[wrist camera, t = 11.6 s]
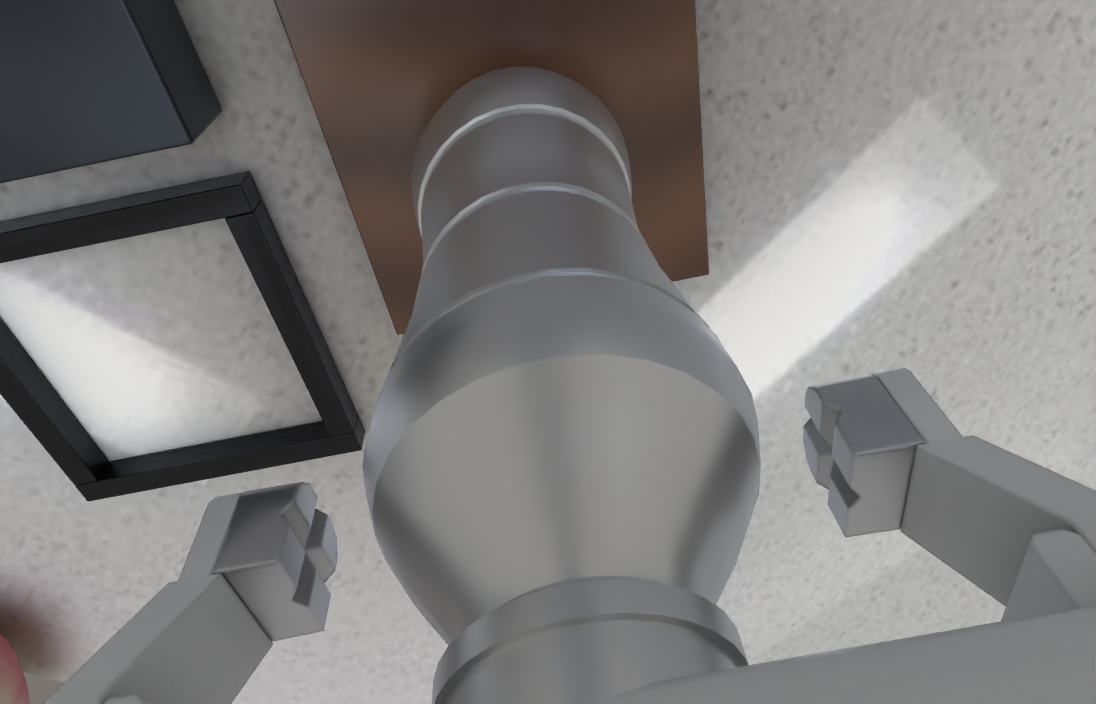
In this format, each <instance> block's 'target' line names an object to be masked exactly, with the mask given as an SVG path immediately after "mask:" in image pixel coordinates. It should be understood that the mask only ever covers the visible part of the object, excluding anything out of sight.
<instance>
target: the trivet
mask: <svg viewBox="0 0 1096 704" xmlns="http://www.w3.org/2000/svg"><path fill="white" fill-rule="evenodd" d="M274 1H275V4H276V7H277V10H278V12H279V15H280V18H281V20H282V23H283V26H284V29H285V31H286V34H287V37H288V39H289V42H290V45H291V48H292V50H293V53H294V56H295V58H296V61H297V64H298V67H299V69H300V72H301V75H302V77H303V80H304V83H305V86H306V88H307V91H308V94H309V96H310V99H311V102H312V105H313V107H314V110H315V113H316V115H317V118H318V121H319V124H320V126H321V129H322V132H323V134H324V137H325V140H326V143H327V145H328V148H329V151H330V153H331V156H332V159H333V162H334V164H335V167H336V170H337V172H338V175H339V178H340V181H341V183H342V186H343V189H344V191H345V194H346V197H347V200H348V202H349V205H350V208H351V210H352V213H353V216H354V219H355V221H356V224H357V227H358V229H359V232H360V235H361V238H362V240H363V243H364V246H365V248H366V251H367V254H368V257H369V259H370V262H371V265H372V267H373V270H374V273H375V276H376V278H377V281H378V284H379V286H380V289H381V292H382V295H383V297H384V300H385V303H386V305H387V308H388V311H389V314H390V316H391V319H392V322H393V324H394V327H395V330H396V333H397V334H398V335H399V334H404V333H405V331H406V329H407V326H408V324H409V321H410V319H411V317H412V314H413V309H414V304H415V300H416V295H417V291H418V286H419V281H420V278H421V274H422V268H423V245H422V238H421V235H420V232H419V228H418V224H417V220H416V217H415V211H414V204H413V197H412V179H411V175H412V169H413V162H414V155H415V153H416V150H417V147H418V144H419V142H420V139H421V136H422V134H423V132H424V131H425V129H426V127H427V126H428V124H429V122H430V121H431V119H432V118H433V116H434V115H435V113H436V112H437V111H438V110H439V109H440V108H441V106H442V105H443V104H444V103H445V102H446V101H447V100H448V99H449V98H450V97H451V96H452V95H453V94H454V93H455V91H457V90H458V89H460V88H461V87H462V86H464V85H465V84H467V83H468V82H470V81H471V80H472V79H474V78H477V77H479V76H481V75H484V74H486V73H488V72H490V71H494V70H498V69H503V68H508V67H537V68H542V69H546V70H551V71H554V72H556V73H558V74H561V75H563V76H565V77H567V78H569V79H571V80H573V81H575V82H577V83H578V84H580V85H581V86H583V87H584V88H585V89H587V90H588V91H589V92H591V93H592V94H593V95H595V96H596V97H597V98H598V99H599V100H600V101H601V102H602V103H603V104H604V106H605V107H606V108H607V109H608V110H609V111H610V112H611V114H612V115H613V117H614V119H615V121H616V123H617V124H618V126H619V128H620V130H621V132H622V134H623V138H624V141H625V144H626V148H627V151H628V156H629V163H630V170H631V183H632V205H633V209H634V214H635V218H636V222H637V226H638V229H639V231H640V233H641V235H642V236H643V238H644V240H645V242H646V244H647V245H648V247H649V249H650V251H651V252H652V254H653V256H654V258H655V259H656V261H657V263H658V265H659V267H660V268H661V269H662V270H663V272H664V273H665V274H666V275H667V276H668V278H669V279H670V280H671V281H678V280H683V279H688V278H693V277H698V276H703V275H708V274H709V267H708V247H707V228H706V209H705V189H704V170H703V151H702V131H701V112H700V93H699V73H698V54H697V35H696V15H695V0H274Z"/></svg>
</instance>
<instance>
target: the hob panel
mask: <svg viewBox="0 0 1096 704" xmlns="http://www.w3.org/2000/svg"><path fill="white" fill-rule="evenodd" d="M220 113H221V107H220V105H219V103H218V101H217V98H216V96H215V94H214V92H213V89H212V87H211V85H210V83H209V80H208V78H207V76H206V74H205V71H204V69H203V67H202V65H201V62H200V60H199V58H198V56H197V53H196V51H195V49H194V47H193V44H192V42H191V40H190V38H189V35H188V33H187V31H186V29H185V26H184V24H183V22H182V20H181V17H180V15H179V13H178V11H177V8H176V6H175V4H174V2H173V0H0V183H4V182H9V181H14V180H18V179H23V178H28V177H33V176H38V175H43V174H48V173H52V172H57V171H62V170H67V169H72V168H77V167H81V166H86V165H91V164H96V163H101V162H106V161H110V160H115V159H120V158H125V157H130V156H135V155H139V154H144V153H149V152H154V151H159V150H164V149H168V148H173V147H178V146H183V145H188V144H192V143H193V142H194V141H195V140H196V139H197V138H198V137H199V136H200V134H201V133H202V132H203V131H204V130H205V129H206V128H207V127H208V126H209V125H210V124H211V123H212V121H213V120H214V119H215V118H216V117H217V116H218V115H219V114H220Z"/></svg>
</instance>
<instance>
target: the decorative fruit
mask: <svg viewBox="0 0 1096 704" xmlns="http://www.w3.org/2000/svg"><path fill="white" fill-rule="evenodd" d="M0 704H30V701H29V693H28V687H27V684H26V680H25V677H24V674H23V672H22V670H21V668H20V664H19V660H18V658H17V655H16V653H15V651H14V649H13V648H12V646H11V645H10V643H9V642H8V641H7V640H6V639H5V638H4V637H3V636H2V635H1V634H0Z"/></svg>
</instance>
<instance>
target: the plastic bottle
mask: <svg viewBox="0 0 1096 704" xmlns="http://www.w3.org/2000/svg"><path fill="white" fill-rule="evenodd" d="M411 179H412V197H413V204H414V211H415V217H416V220H417V224H418V228H419V232H420V235H421V238H422V245H423V268H422V274H421V278H420V281H419V286H418V291H417V295H416V300H415V304H414V309H413V314H412V317H411V319H410V321H409V324H408V326H407V329H406V331H405V334H404V336H403V339H402V341H401V344H400V346H399V349H398V351H397V354H396V356H395V359H394V361H393V364H392V366H391V369H390V371H389V373H388V376H387V378H386V380H385V383H384V385H383V388H382V390H381V392H380V395H379V397H378V400H377V402H376V406H375V410H374V414H373V418H372V421H371V425H370V428H369V431H368V435H367V439H366V446H365V453H364V461H363V474H364V482H365V489H366V496H367V501H368V505H369V510H370V514H371V519H372V523H373V527H374V532H375V536H376V539H377V541H378V543H379V546H380V548H381V550H382V553H383V555H384V557H385V560H386V562H387V563H388V565H389V566H390V568H391V569H392V571H393V572H394V574H395V576H396V577H397V579H398V580H399V582H400V583H401V585H402V586H403V588H404V589H405V591H406V593H407V594H408V596H409V597H410V599H411V600H412V602H413V603H414V605H415V606H416V607H417V608H418V610H419V611H420V612H421V614H422V615H423V616H424V617H425V619H426V620H427V621H428V622H429V623H430V625H431V626H432V627H433V628H434V629H435V630H436V632H437V633H438V634H439V635H440V636H441V637H442V638H443V640H444V641H445V642H446V643H447V644H448V645H449V646H448V648H447V649H446V651H445V653H444V654H443V656H442V657H441V659H440V661H439V662H438V665H437V669H436V672H435V676H434V680H433V694H432V704H596V703H602V702H604V701H606V700H608V699H610V698H612V697H613V696H616V695H618V694H621V693H624V692H627V691H630V690H633V689H637V688H639V687H641V686H643V685H646V684H649V683H652V682H657V681H662V680H668V679H673V678H679V677H685V676H691V675H696V674H702V673H708V672H713V671H719V670H725V669H731V668H736V667H742V666H748V662H747V659H746V655H745V652H744V649H743V646H742V642H741V639H740V636H739V633H738V630H737V627H736V626H735V624H734V623H733V622H732V621H731V619H730V618H729V617H728V616H727V614H726V613H725V612H724V611H723V610H722V609H720V608H719V607H718V606H716V603H717V601H718V599H719V597H720V595H721V593H722V591H723V589H724V587H725V585H726V583H727V581H728V579H729V577H730V575H731V573H732V571H733V569H734V567H735V564H736V561H737V558H738V555H739V552H740V549H741V546H742V543H743V540H744V537H745V534H746V531H747V528H748V525H749V522H750V519H751V516H752V513H753V510H754V507H755V503H756V500H757V497H758V494H759V485H760V448H759V432H758V420H757V416H756V411H755V407H754V403H753V398H752V394H751V392H750V390H749V388H748V386H747V384H746V383H745V381H744V379H743V377H742V375H741V374H740V372H739V370H738V368H737V366H736V365H735V363H734V362H733V360H732V359H731V357H730V356H729V354H728V353H727V351H726V350H725V348H724V346H723V345H722V343H721V342H720V340H719V338H718V337H717V335H716V334H715V333H714V332H713V331H712V330H711V329H710V328H709V326H708V325H707V324H706V323H705V321H704V320H703V319H702V318H701V317H700V315H699V314H698V313H697V312H696V310H695V309H694V308H693V307H692V306H691V304H690V303H689V302H688V301H687V300H686V298H685V297H684V296H683V295H682V293H681V292H680V291H679V290H678V289H677V287H676V286H675V285H674V284H673V283H672V281H671V280H670V279H669V278H668V276H667V275H666V274H665V273H664V272H663V270H662V269H661V268H660V267H659V265H658V263H657V261H656V259H655V258H654V256H653V254H652V252H651V251H650V249H649V247H648V245H647V244H646V242H645V240H644V238H643V236H642V235H641V233H640V231H639V229H638V226H637V222H636V218H635V214H634V209H633V205H632V183H631V170H630V163H629V156H628V151H627V148H626V144H625V141H624V138H623V134H622V132H621V130H620V128H619V126H618V124H617V123H616V121H615V119H614V117H613V115H612V114H611V112H610V111H609V110H608V109H607V108H606V107H605V106H604V104H603V103H602V102H601V101H600V100H599V99H598V98H597V97H596V96H595V95H593V94H592V93H591V92H589V91H588V90H587V89H585V88H584V87H583V86H581V85H580V84H578V83H577V82H575V81H573V80H571V79H569V78H567V77H565V76H563V75H561V74H558V73H556V72H554V71H551V70H546V69H542V68H537V67H508V68H503V69H498V70H494V71H490V72H488V73H486V74H484V75H481V76H479V77H477V78H474V79H472V80H471V81H470V82H468V83H467V84H465V85H464V86H462V87H461V88H460V89H458V90H457V91H455V93H454V94H453V95H452V96H451V97H450V98H449V99H448V100H447V101H446V102H445V103H444V104H443V105H442V106H441V108H440V109H439V110H438V111H437V112H436V113H435V115H434V116H433V118H432V119H431V121H430V122H429V124H428V126H427V127H426V129H425V131H424V132H423V134H422V136H421V139H420V142H419V144H418V147H417V150H416V153H415V155H414V162H413V169H412V175H411Z"/></svg>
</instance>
